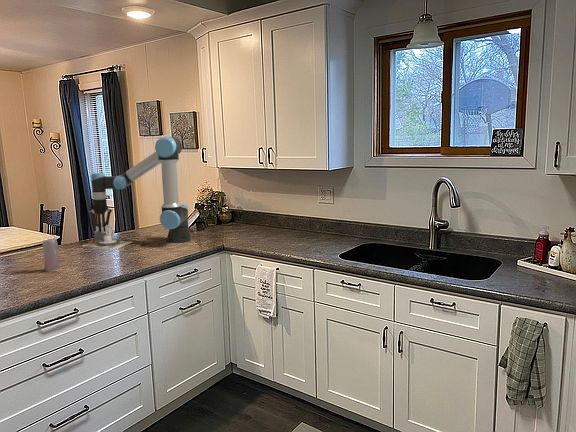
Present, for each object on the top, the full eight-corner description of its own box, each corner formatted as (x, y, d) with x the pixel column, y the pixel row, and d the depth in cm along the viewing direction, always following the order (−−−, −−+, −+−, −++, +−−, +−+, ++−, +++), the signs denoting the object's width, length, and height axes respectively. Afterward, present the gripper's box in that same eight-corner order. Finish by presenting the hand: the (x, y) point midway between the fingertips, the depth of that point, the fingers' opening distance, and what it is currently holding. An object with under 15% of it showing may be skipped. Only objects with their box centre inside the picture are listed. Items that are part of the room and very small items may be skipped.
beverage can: (48, 268, 214) (45, 238, 212) (61, 268, 215) (58, 238, 212) (42, 272, 208) (39, 241, 206) (55, 271, 209) (53, 241, 206)
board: (134, 243, 268) (133, 239, 268) (118, 250, 252) (118, 245, 251) (98, 241, 273) (97, 237, 272) (80, 248, 256) (80, 243, 256)
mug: (118, 238, 283) (117, 222, 281) (110, 241, 275) (109, 225, 273) (102, 237, 286) (101, 221, 284) (93, 239, 278) (92, 224, 276)
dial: (120, 243, 264) (120, 231, 263) (107, 246, 255) (106, 234, 254) (102, 240, 270) (101, 229, 269) (89, 243, 261) (88, 232, 260)
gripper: (109, 197, 269) (112, 234, 273) (86, 199, 262) (90, 237, 266) (112, 198, 263) (115, 236, 267) (89, 200, 256) (92, 239, 260)
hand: (102, 237), depth 266 cm, fingers closed
